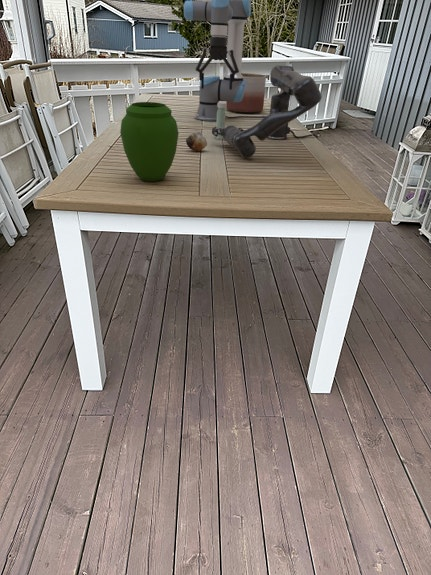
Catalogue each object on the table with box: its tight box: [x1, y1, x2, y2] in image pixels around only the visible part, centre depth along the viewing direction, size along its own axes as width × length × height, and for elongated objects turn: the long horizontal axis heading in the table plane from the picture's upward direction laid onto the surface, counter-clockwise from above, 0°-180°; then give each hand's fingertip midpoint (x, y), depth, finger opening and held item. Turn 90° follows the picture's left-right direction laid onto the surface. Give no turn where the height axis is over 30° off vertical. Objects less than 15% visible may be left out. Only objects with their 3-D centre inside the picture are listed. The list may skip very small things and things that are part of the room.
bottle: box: [215, 108, 226, 140], centre depth 202 cm, size 4×4×16 cm
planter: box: [225, 72, 267, 114], centre depth 275 cm, size 25×25×22 cm
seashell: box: [185, 131, 208, 152], centre depth 181 cm, size 10×6×8 cm, turn 97°
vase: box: [119, 101, 179, 182], centre depth 140 cm, size 20×20×24 cm
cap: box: [217, 101, 226, 109], centre depth 198 cm, size 4×4×2 cm
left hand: (216, 89), depth 195 cm, fingers open, 13 cm apart
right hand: (223, 128), depth 197 cm, fingers open, 8 cm apart
